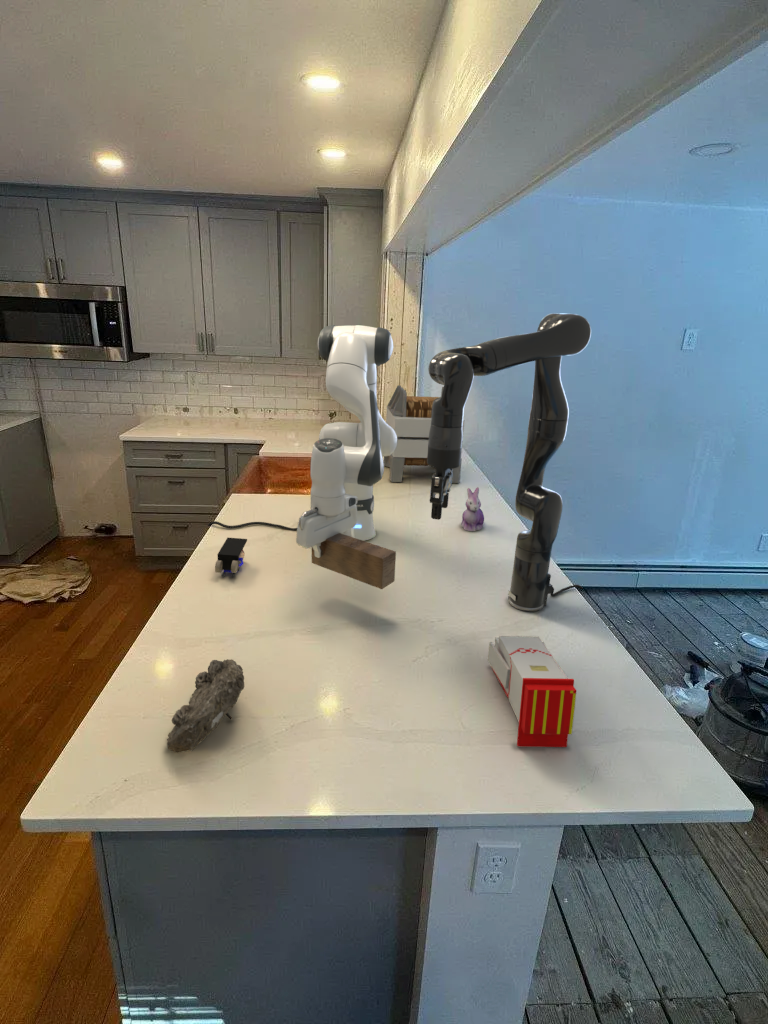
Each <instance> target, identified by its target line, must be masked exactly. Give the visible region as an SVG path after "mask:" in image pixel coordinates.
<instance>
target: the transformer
mask: <svg viewBox="0 0 768 1024" xmlns="http://www.w3.org/2000/svg"><path fill="white" fill-rule="evenodd" d="M443 388H444V386H442V387H441V392H440V393H441V394H440V397H441V396H442V392H443ZM407 394H408V393H407V390H406V389H404V388H403V387H402V385H399V384H398V385H397V386H396V388H395V390H394V392H393V394H392V395H391V398H390V400H389V402H388V404H387V405H386V413H385V414H386V415H385V422H386V423H387V424H388V425H389V426H391V427H392V428H393V429H394V431H395V433H396V435H397V446H396V449H395V450H394V452H393V453H392V454H391V455H389V456H383V462H384V467H388V468H389V475H388V476H389V477H388V478H389V480H390V482H391V483H402V482H403V475H404V469H405V466H406V467H407V466H411V467H412V466H413V467H415V466H416V467H417V466H418V467H429V465H428V464H427V455H428V440H429V431H430V426H431V415H432V404H433V401H434V400H435V399H436V398H438V397H439V396H415V395H414V396H413V395H412V396H411V395H407ZM464 429H465V419H464V418H463V426H462V431H463V433H464V431H465V430H464ZM463 442H464V440H462V444H463ZM462 453H463V449H462V450H461V454H462ZM462 461H463V460H462V457H461V461H460V466H459V467H457V468H454V469H453V472H452V484H455V483H456V484H459V483H461V472H462Z"/></svg>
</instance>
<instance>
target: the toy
mask: <svg viewBox="0 0 768 1024" xmlns="http://www.w3.org/2000/svg"><path fill="white" fill-rule="evenodd" d="M488 643H489V644H488V651H487V658H486V659H487V662H488V664H489V666H490V668H491V669H492V672H493V674H494V675H495V677H496V679H497V681H498V682H499V684H500V687H501V688H502V691H503V692H504V694H505V697H507V699H508V702H509V705H510V706H511V709H512V710H513V713H514V714H515V717H516V720H517V721H518V728H517V729H518V730H517V741H516V746H517V747H520V748H521V747H522V748H523V747H525V748H527V747H529V748H531V747H532V748H533V747H534V748H545V747H546V748H567V747H568V740H569V735H572V733H573V725H574V716H575V708H576V700H577V689H576V687H575V686H574V685H575V679H574V678H569V677H568V676H567V675H566V673H565V672H564V670H563V669H562V668H561V667H560V665H559V663H558V662H557V661H556V659H555V658H554V656H553V654H552V653H551V652H550V650H549V649H548V648H547V646H546V644H545V642H544V641H543V640H542V639H541V638H540V636H534V635H533V636H532V635H530V636H527V635H526V636H525V635H524V636H523V635H498V637H497V636H496V637H494V643H493V641H489V642H488Z"/></svg>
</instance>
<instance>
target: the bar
mask: <svg viewBox="0 0 768 1024" xmlns="http://www.w3.org/2000/svg"><path fill="white" fill-rule="evenodd" d="M319 547H320V550H323V556H322V557H319V558H317V557H315V555H314V549H313V548H312V547H311V564H314V565H316V566H318V567H320V568H321V567H322V568H324V569H327V570H329V571H332V572H335V573H336V574H337V573H338V574H340V575H342V576H346V577H347V578H350V579H353V580H356V581H357V582H358V581H359V582H361V583H364V584H366V585H369V586H372V587H374V588H377V589H380V590H383V589H385V588H387V587H388V586H389V585H392V584H393V583H395V580H396V579H395V577H396V561H397V560H396V556H397V551H396V550H392V549H390V548H386V547H383V546H380V545H378V544H375V543H372V542H369V541H366V540H365V541H362V540H359V539H356V538H353V537H350V536H347V535H344V534H341V533H338V534H336V535H334V536H332V537H330V538H327V539H326V540H325V541H323V542H321V546H319Z"/></svg>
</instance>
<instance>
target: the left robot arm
mask: <svg viewBox="0 0 768 1024" xmlns="http://www.w3.org/2000/svg"><path fill="white" fill-rule="evenodd" d="M317 348H318V353H319V357H320V358H321V359H322V360H324V361H325V362H327V363H326V371H325V389H326V391H327V393H328V394H329V397H331V398H332V399H333V400H334V401H335V402H337V403H338V404H339V405H341V406H342V407H343V408H344V409H345V410H346V411H347V412H349V413H350V414H351V415H352V414H353V415H354V416H356V417H357V418H358V420H359V421H360V422H348V421H335V422H330V423H325V424H324V425H323V426H322V427H321V429H320V431H319V434H318V440H316V441H315V442H314V443H313V444H312V450H311V457H310V463H309V464H310V472H309V473H310V474H309V476H310V479H311V487H310V509H309V510H305V511H303V512H302V515H300V517H299V518H298V522H297V526H296V527H288V526H284V525H282V524H277V523H271V522H265V521H249V522H245V523H241V524H235V525H227V524H225V523H222V522H220V521H216V520H214V521H210V522H209V523H208V524H207V526H208V527H212V526H213V525H218V526H220V527H222V528H225V529H230V530H231V529H239V528H243V527H249V526H256V525H260V526H268V527H273V528H278V529H282V530H286V531H291V532H292V531H293V532H296V539H295V541H296V544H297V546H299V547H301V548H304V549H312V548H313V549H314V555H315V557H317V558H319V557H322V556H323V550H320V547H319V546H321V542H323V541H325V540H326V539H327V538H330V537H332V536H334V535H336V534H338V533H341V534H344V535H347V536H350V537H353V538H356V539H359V540H362V541H365V542H366V541H368V540H372V539H373V538H375V537H376V535H377V532H376V528H375V523H374V513H373V512H374V509H375V496H374V485H375V484H377V483H378V482H379V481H380V480H381V479H383V475H384V471H385V466H384V456H389V455H391V454H392V453H393V452H394V450H395V449H396V446H397V435H396V433H395V431H394V429H393V428H392V427H391V426H389V425H388V424H387V423H386V420H385V419H384V418H383V416H382V415H381V413H380V410H379V406H378V399H377V397H378V396H377V395H378V394H377V383H378V382H377V380H378V379H377V378H378V374H377V367H380V366H382V365H385V364H386V363H388V362H389V361H390V359H391V356H392V355H393V351H394V340H393V337H392V333H391V332H390V331H389V329H387V328H384V327H381V326H377V327H375V326H369V325H359V324H355V325H334V324H332V325H326V326H324V327H323V328H322V329H321V330H320V332H319V335H318V338H317Z"/></svg>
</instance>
